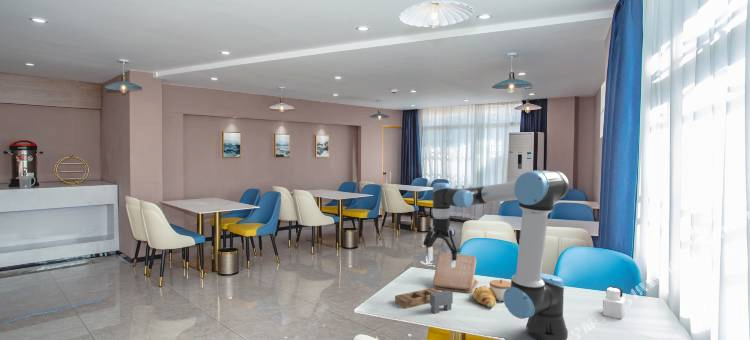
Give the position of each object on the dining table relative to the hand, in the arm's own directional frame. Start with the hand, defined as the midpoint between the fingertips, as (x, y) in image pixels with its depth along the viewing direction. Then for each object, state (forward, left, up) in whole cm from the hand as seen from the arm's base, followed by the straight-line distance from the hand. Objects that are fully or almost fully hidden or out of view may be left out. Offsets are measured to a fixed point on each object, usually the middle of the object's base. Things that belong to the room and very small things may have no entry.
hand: (441, 264), depth 197 cm
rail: (+13, +3, -20) cm, 24 cm away
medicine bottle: (-44, -59, -20) cm, 77 cm away
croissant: (-4, -23, -20) cm, 31 cm away
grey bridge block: (-2, +2, -20) cm, 20 cm away
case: (+22, -27, -21) cm, 41 cm away
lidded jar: (-5, -32, -20) cm, 38 cm away
